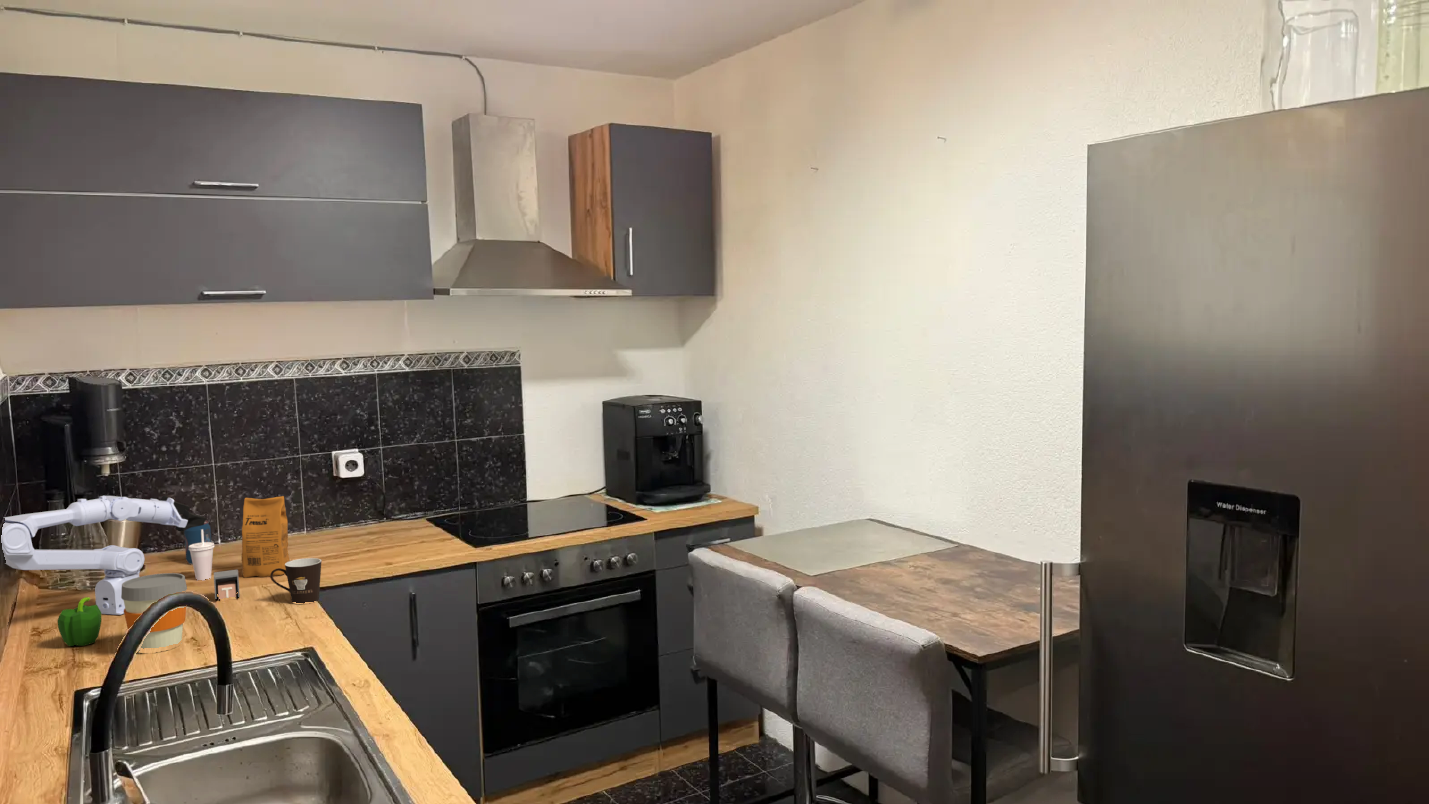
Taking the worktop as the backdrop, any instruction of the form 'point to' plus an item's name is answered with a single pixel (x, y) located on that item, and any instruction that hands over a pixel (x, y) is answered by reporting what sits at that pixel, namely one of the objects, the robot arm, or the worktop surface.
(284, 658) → the worktop surface
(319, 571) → the coffee mug
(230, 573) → the grey hollow cube
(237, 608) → the worktop surface
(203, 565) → the smoothie
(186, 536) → the soda can
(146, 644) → the reusable coffee cup
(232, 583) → the letter cube
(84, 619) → the bell pepper
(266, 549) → the coffee package
